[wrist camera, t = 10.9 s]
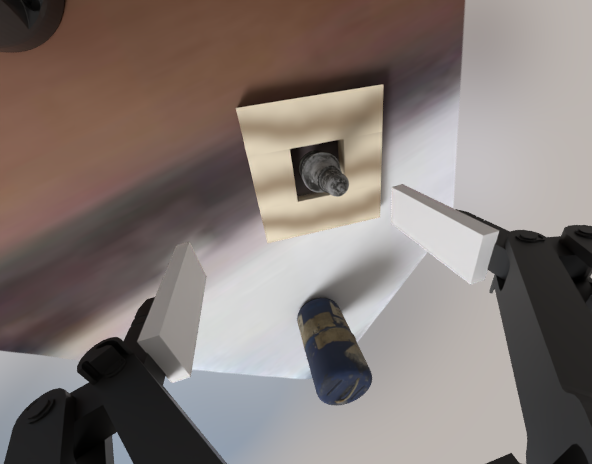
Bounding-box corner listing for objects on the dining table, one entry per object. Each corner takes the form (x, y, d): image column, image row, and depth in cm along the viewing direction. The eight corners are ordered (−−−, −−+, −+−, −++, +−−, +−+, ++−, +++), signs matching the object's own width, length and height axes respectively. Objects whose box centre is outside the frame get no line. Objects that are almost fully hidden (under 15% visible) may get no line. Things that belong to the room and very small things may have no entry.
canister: (345, 307, 54) (389, 389, 38) (314, 333, 55) (344, 421, 39) (319, 287, 49) (356, 369, 33) (286, 315, 51) (307, 406, 35)
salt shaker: (332, 147, 37) (369, 160, 27) (332, 184, 40) (365, 209, 29) (295, 150, 36) (318, 166, 26) (298, 188, 39) (319, 216, 28)
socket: (236, 108, 32) (235, 108, 30) (374, 86, 34) (383, 84, 32) (266, 236, 41) (267, 243, 39) (372, 212, 44) (379, 217, 42)
